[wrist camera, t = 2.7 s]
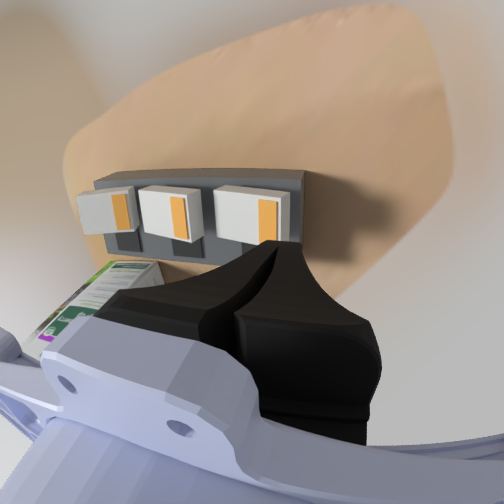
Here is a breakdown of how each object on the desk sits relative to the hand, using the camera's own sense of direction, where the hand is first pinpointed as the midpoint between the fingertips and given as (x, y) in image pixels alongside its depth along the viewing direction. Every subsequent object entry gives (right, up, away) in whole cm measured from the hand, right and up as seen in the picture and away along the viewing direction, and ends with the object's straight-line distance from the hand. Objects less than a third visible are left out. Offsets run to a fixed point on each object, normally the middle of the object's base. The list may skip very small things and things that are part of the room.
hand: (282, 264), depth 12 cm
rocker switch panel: (-5, +4, +11) cm, 12 cm away
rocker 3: (-1, +3, +5) cm, 6 cm away
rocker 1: (-11, +3, +7) cm, 14 cm away
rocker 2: (-6, +3, +6) cm, 9 cm away
